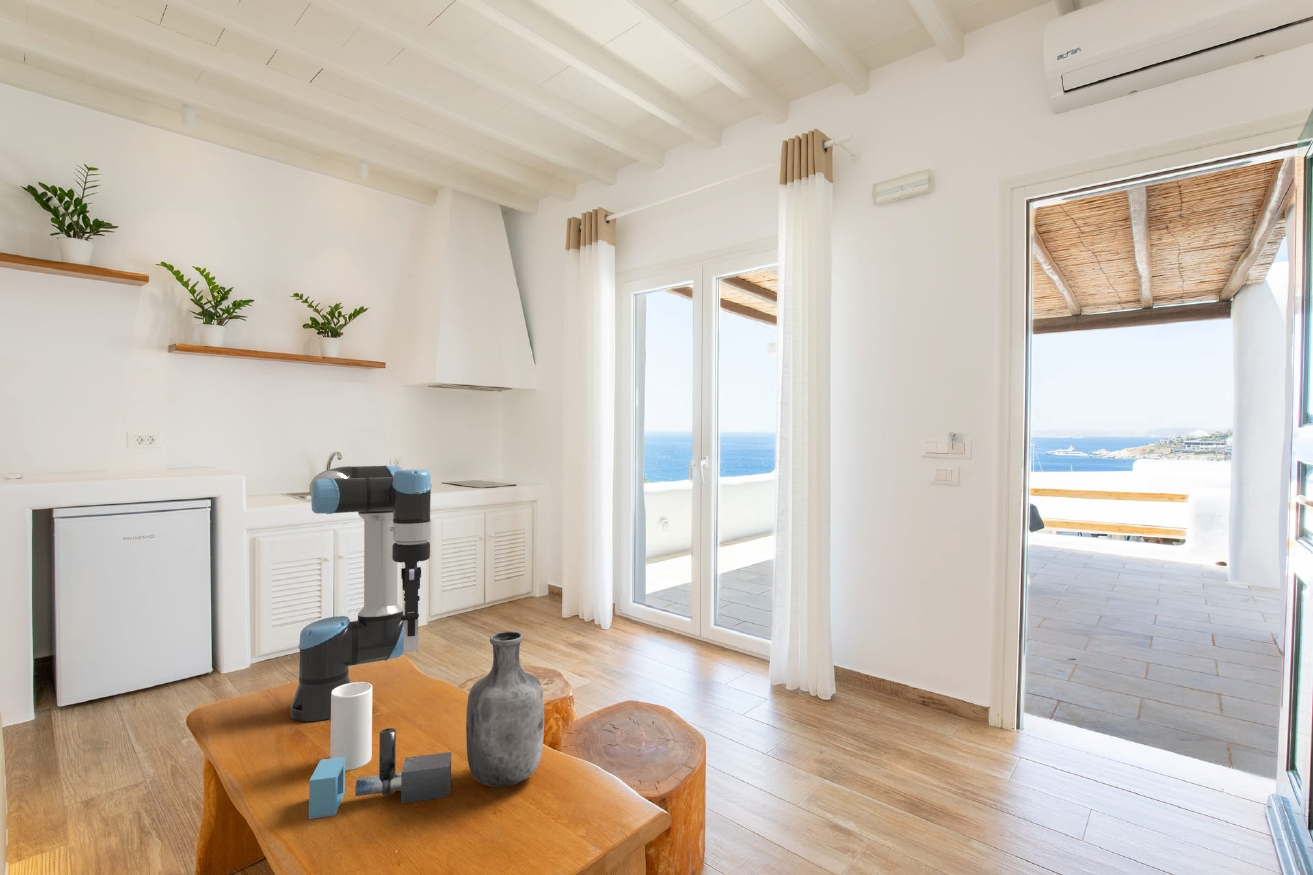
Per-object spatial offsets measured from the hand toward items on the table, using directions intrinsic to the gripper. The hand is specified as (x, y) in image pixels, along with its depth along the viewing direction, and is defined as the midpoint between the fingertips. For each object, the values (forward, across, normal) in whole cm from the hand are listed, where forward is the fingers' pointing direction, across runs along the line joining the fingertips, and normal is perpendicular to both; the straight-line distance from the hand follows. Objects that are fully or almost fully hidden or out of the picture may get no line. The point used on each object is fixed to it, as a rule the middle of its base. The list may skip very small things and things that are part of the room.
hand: (410, 641), depth 129 cm
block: (+28, +8, +3) cm, 30 cm away
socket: (+28, +6, -15) cm, 33 cm away
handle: (+28, +7, -1) cm, 29 cm away
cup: (+29, -11, -12) cm, 33 cm away
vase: (+29, +9, +19) cm, 35 cm away
